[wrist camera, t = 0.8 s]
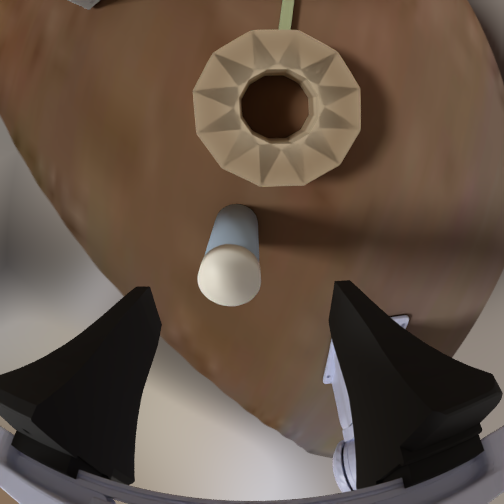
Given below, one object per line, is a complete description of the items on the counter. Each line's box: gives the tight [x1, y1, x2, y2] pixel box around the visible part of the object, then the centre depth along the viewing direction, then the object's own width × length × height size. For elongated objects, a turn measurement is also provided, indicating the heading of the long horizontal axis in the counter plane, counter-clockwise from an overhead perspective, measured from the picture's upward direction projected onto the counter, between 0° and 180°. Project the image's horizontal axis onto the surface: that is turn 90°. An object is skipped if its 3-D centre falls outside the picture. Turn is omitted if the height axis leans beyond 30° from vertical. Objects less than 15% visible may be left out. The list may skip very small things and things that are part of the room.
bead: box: [193, 30, 361, 187], centre depth 14 cm, size 9×9×3 cm
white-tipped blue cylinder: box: [198, 204, 261, 306], centre depth 17 cm, size 3×3×7 cm
